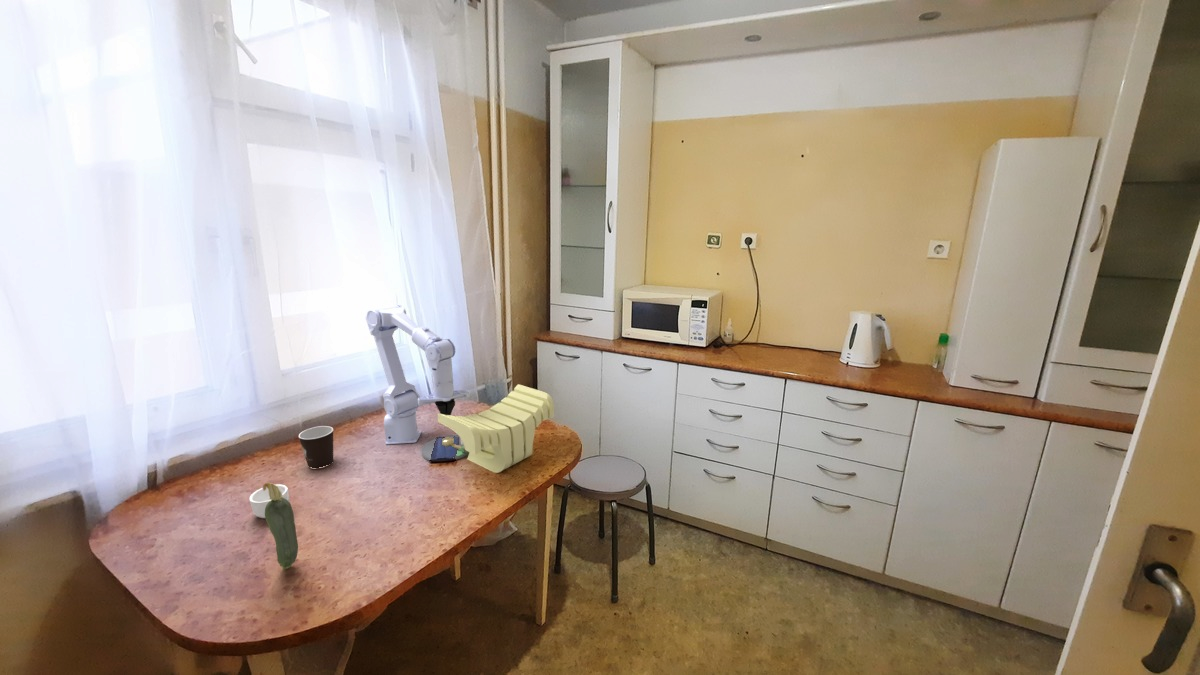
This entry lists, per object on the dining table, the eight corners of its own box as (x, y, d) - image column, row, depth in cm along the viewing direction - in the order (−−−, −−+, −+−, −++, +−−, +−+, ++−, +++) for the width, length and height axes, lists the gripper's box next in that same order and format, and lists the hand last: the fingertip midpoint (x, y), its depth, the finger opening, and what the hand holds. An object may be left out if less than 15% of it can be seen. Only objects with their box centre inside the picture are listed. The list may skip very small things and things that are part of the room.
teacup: (294, 513, 112) (291, 493, 110) (256, 527, 106) (251, 506, 105) (285, 496, 118) (282, 477, 117) (249, 508, 113) (245, 489, 112)
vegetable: (306, 561, 96) (291, 475, 91) (294, 576, 91) (277, 488, 87) (285, 561, 96) (268, 476, 91) (271, 577, 91) (253, 488, 86)
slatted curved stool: (477, 490, 122) (473, 428, 117) (442, 470, 131) (437, 413, 127) (554, 447, 145) (553, 395, 140) (520, 433, 154) (518, 384, 150)
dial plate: (416, 464, 134) (415, 460, 134) (427, 439, 150) (427, 436, 149) (472, 460, 137) (471, 456, 136) (477, 436, 152) (477, 433, 152)
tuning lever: (439, 446, 142) (438, 431, 141) (448, 441, 145) (447, 427, 144) (463, 453, 138) (462, 438, 136) (472, 448, 141) (471, 433, 139)
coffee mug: (335, 468, 132) (330, 436, 130) (300, 473, 129) (295, 441, 126) (341, 450, 142) (336, 420, 140) (309, 454, 139) (304, 424, 137)
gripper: (419, 389, 127) (423, 433, 131) (471, 380, 135) (473, 423, 138) (414, 381, 133) (418, 424, 137) (464, 373, 141) (467, 414, 144)
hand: (446, 423), depth 138 cm, fingers closed
